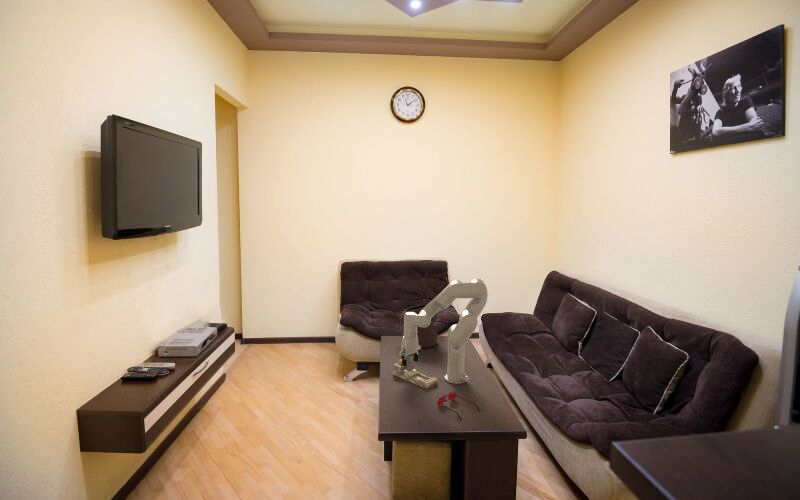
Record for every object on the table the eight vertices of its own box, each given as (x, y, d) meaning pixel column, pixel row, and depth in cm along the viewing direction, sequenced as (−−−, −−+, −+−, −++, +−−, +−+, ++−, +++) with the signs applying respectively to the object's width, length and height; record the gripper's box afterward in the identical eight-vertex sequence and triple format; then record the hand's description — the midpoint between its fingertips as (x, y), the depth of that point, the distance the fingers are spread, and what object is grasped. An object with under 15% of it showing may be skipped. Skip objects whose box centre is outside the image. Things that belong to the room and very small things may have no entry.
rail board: (437, 384, 224) (437, 373, 223) (426, 388, 218) (426, 378, 217) (404, 370, 243) (404, 360, 242) (393, 374, 236) (393, 364, 236)
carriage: (416, 374, 233) (416, 354, 232) (409, 376, 229) (410, 357, 228) (409, 371, 236) (410, 352, 235) (403, 374, 233) (403, 354, 231)
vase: (437, 337, 305) (438, 298, 302) (436, 349, 278) (437, 307, 275) (401, 335, 308) (402, 297, 304) (397, 348, 281) (398, 305, 278)
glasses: (454, 398, 208) (455, 389, 207) (480, 411, 195) (480, 401, 195) (435, 407, 199) (435, 397, 198) (461, 421, 186) (461, 410, 186)
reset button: (406, 365, 237) (406, 360, 236) (402, 367, 234) (402, 362, 234) (402, 363, 239) (402, 359, 239) (398, 365, 237) (398, 360, 237)
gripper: (416, 329, 239) (415, 357, 241) (394, 335, 227) (394, 365, 229) (425, 332, 234) (425, 361, 235) (404, 339, 222) (403, 369, 223)
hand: (410, 363), depth 232 cm, fingers open, 9 cm apart
